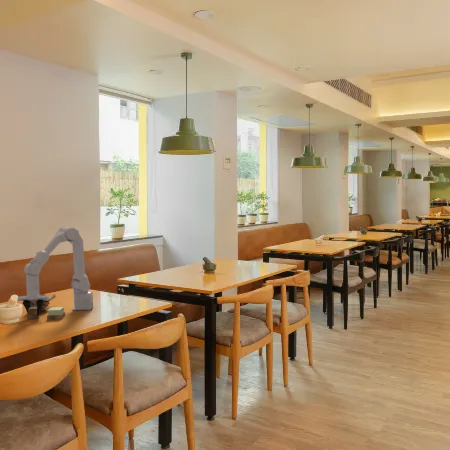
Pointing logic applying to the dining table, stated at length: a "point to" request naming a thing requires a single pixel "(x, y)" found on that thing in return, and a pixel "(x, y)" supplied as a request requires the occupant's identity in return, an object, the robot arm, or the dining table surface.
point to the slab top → (55, 310)
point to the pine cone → (45, 304)
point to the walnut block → (33, 313)
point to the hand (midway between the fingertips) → (34, 315)
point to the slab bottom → (56, 316)
